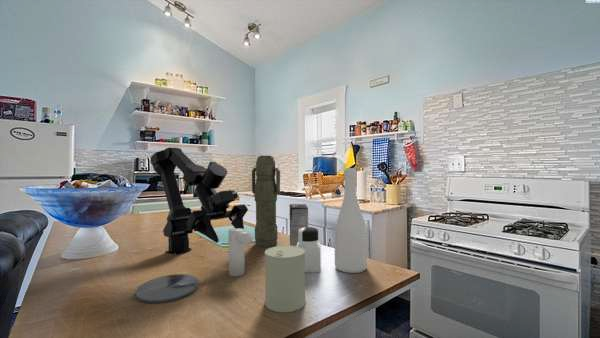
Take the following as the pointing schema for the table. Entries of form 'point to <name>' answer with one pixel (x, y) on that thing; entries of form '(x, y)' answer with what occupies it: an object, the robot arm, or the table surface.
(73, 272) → the table surface
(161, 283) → the flange plate
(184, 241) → the robot arm
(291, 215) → the coffee box
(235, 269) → the duct elbow
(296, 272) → the can
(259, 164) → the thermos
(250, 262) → the table surface
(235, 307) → the table surface
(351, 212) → the wine bottle
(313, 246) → the medicine bottle
